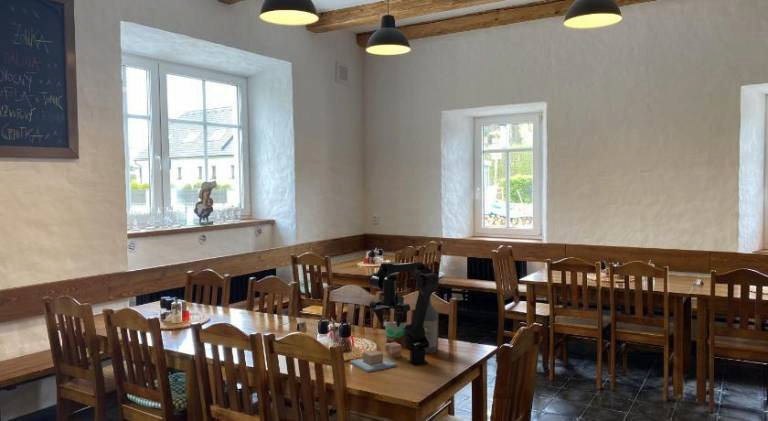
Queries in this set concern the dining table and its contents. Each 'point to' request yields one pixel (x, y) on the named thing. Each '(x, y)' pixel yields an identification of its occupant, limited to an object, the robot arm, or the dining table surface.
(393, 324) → the food container
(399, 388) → the dining table surface
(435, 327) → the liquor
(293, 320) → the dining table surface
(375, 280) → the robot arm
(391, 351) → the terracotta block
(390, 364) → the blueprint board
